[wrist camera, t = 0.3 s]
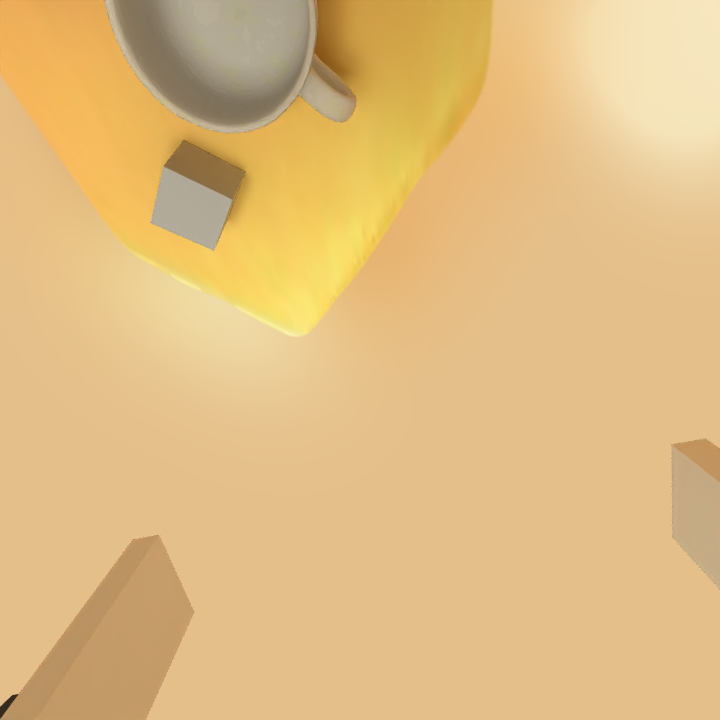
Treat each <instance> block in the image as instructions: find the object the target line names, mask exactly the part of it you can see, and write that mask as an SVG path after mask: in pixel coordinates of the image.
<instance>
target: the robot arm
mask: <svg viewBox="0 0 720 720" xmlns="http://www.w3.org/2000/svg"><path fill="white" fill-rule="evenodd" d="M671 446H672V537H673V539H674V540H675V541H676V542H677V543H678V544H679V545H680V546H681V547H682V548H683V550H684V551H685V552H686V553H687V554H688V555H689V556H690V557H691V558H692V560H693V561H694V562H695V563H696V564H697V565H698V566H699V567H700V568H701V569H702V570H703V572H704V573H705V574H706V575H707V576H708V577H709V578H710V579H711V580H712V581H713V583H714V584H715V585H716V586H717V587H718V588H719V589H720V448H718V447H717V446H716V445H714V444H713V443H711V442H710V441H708V440H707V439H700V440H695V441H689V442H683V443H678V444H673V445H671ZM193 614H194V610H193V608H192V606H191V604H190V602H189V599H188V597H187V595H186V593H185V591H184V588H183V586H182V584H181V582H180V580H179V577H178V575H177V573H176V571H175V569H174V566H173V564H172V562H171V560H170V558H169V555H168V553H167V551H166V549H165V547H164V545H163V542H162V540H161V538H160V536H159V535H156V536H151V537H145V538H139V539H133V540H132V541H131V543H130V544H129V546H128V547H127V548H126V550H125V551H124V552H123V554H122V555H121V556H120V558H119V559H118V561H117V562H116V563H115V564H114V566H113V567H112V569H111V570H110V571H109V573H108V574H107V575H106V577H105V578H104V579H103V581H102V582H101V583H100V585H99V586H98V587H97V589H96V590H95V592H94V593H93V594H92V596H91V597H90V598H89V600H88V601H87V602H86V604H85V605H84V607H83V608H82V609H81V611H80V612H79V613H78V615H77V616H76V617H75V619H74V620H73V622H72V623H71V624H70V626H69V627H68V628H67V629H66V631H65V632H64V634H63V635H62V636H61V638H60V639H59V640H58V642H57V643H56V644H55V646H54V647H53V648H52V650H51V651H50V653H49V654H48V655H47V657H46V658H45V659H44V661H43V662H42V663H41V665H40V666H39V667H38V669H37V670H36V672H35V673H34V674H33V676H32V677H31V678H30V680H29V681H28V682H27V684H26V685H25V686H24V688H23V689H22V690H21V692H20V693H19V694H16V695H12V696H11V697H10V698H9V699H8V700H7V701H6V702H5V703H4V704H3V705H2V706H1V707H0V720H146V718H147V716H148V714H149V711H150V709H151V707H152V705H153V702H154V700H155V698H156V696H157V694H158V691H159V689H160V687H161V685H162V682H163V680H164V678H165V676H166V673H167V671H168V669H169V667H170V665H171V663H172V660H173V658H174V656H175V654H176V651H177V649H178V647H179V645H180V642H181V640H182V638H183V636H184V634H185V631H186V629H187V627H188V625H189V622H190V620H191V618H192V616H193Z"/></svg>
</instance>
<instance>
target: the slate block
mask: <svg viewBox="0 0 720 720" xmlns="http://www.w3.org/2000/svg"><path fill="white" fill-rule="evenodd" d="M244 173H245V171H243V170H241V169H239V168H237V167H235V166H233V165H231V164H229V163H227V162H225V161H223V160H221V159H219V158H217V157H215V156H213V155H211V154H210V153H208V152H206V151H204V150H202V149H200V148H198V147H196V146H194V145H192V144H190V143H188V142H186V141H183V142H182V143H181V144H180V146H179V147H178V148H177V150H176V151H175V152H174V154H173V155H172V156H171V157H170V159H169V160H168V161H167V163H166V164H165V165H164V167H163V171H162V175H161V180H160V184H159V188H158V193H157V197H156V202H155V206H154V210H153V215H152V219H151V223H152V224H154V225H156V226H159V227H161V228H163V229H166V230H168V231H170V232H173V233H175V234H177V235H179V236H182V237H184V238H186V239H189V240H191V241H193V242H196V243H198V244H200V245H202V246H205V247H207V248H209V249H212V250H214V249H215V247H216V245H217V243H218V240H219V238H220V236H221V233H222V231H223V229H224V227H225V224H226V222H227V220H228V217H229V214H230V211H231V209H232V206H233V203H234V201H235V198H236V195H237V192H238V190H239V187H240V184H241V182H242V179H243V176H244Z"/></svg>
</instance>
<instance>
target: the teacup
mask: <svg viewBox="0 0 720 720" xmlns="http://www.w3.org/2000/svg"><path fill="white" fill-rule="evenodd" d="M105 5H106V9H107V13H108V17H109V20H110V23H111V26H112V29H113V32H114V34H115V36H116V39H117V42H118V44H119V45H120V47H121V50H122V52H123V54H124V56H125V58H126V59H127V61H128V63H129V64H130V66H131V68H132V69H133V71H134V72H135V74H136V75H137V76H138V78H139V79H140V80H141V82H142V83H143V84H144V86H145V87H146V88H147V89H148V90H149V91H150V92H151V93H152V95H153V96H154V97H155V98H156V99H158V100H159V101H160V102H161V103H162V104H163V105H165V106H166V107H167V108H168V109H169V110H171V111H172V112H173V113H175V114H176V115H177V116H179V117H180V118H182V119H185V120H187V121H188V122H190V123H193V124H196V125H198V126H200V127H203V128H205V129H207V130H212V131H216V132H223V133H239V132H248V131H252V130H256V129H259V128H260V127H263V126H266V125H268V124H269V123H271V122H273V121H274V120H275V119H277V118H278V117H279V116H281V115H282V114H283V113H284V112H285V111H286V110H287V109H288V107H289V106H290V105H291V104H292V103H293V102H294V100H295V99H296V97H297V96H298V94H299V95H300V96H301V97H302V98H303V99H304V100H305V101H306V102H307V103H308V104H310V105H311V106H312V107H313V108H314V109H315V110H317V111H318V112H319V113H321V114H322V115H324V116H325V117H327V118H329V119H331V120H333V121H335V122H341V123H342V122H344V121H347V120H348V119H349V118H350V117H351V115H352V113H353V111H354V109H355V107H356V97H355V95H354V93H353V92H352V90H351V89H350V88H349V87H348V85H347V84H346V83H345V82H344V81H343V80H342V79H341V78H340V77H339V76H338V75H337V74H336V73H334V72H333V71H332V70H331V69H330V68H329V67H328V66H327V65H326V64H324V63H323V62H322V61H321V60H320V58H319V57H318V56H317V55H316V54H315V53H314V50H315V45H316V39H317V30H318V5H317V0H105Z"/></svg>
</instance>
